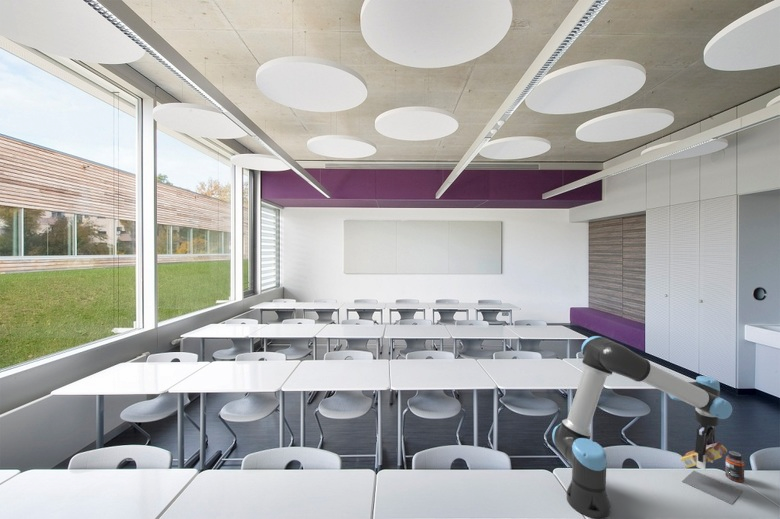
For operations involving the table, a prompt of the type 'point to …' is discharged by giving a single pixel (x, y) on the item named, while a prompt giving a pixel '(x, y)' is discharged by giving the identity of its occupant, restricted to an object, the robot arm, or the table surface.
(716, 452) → the candy box
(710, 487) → the felt pad
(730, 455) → the supplement bottle
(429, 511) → the table surface
